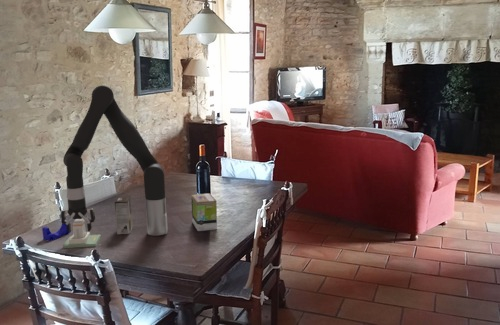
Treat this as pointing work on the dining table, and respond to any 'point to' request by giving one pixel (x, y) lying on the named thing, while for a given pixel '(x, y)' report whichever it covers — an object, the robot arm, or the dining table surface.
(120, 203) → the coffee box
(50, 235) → the blue arch block
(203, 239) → the dining table surface
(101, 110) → the robot arm
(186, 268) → the dining table surface
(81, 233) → the plug
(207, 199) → the tea box
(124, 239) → the dining table surface
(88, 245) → the board
